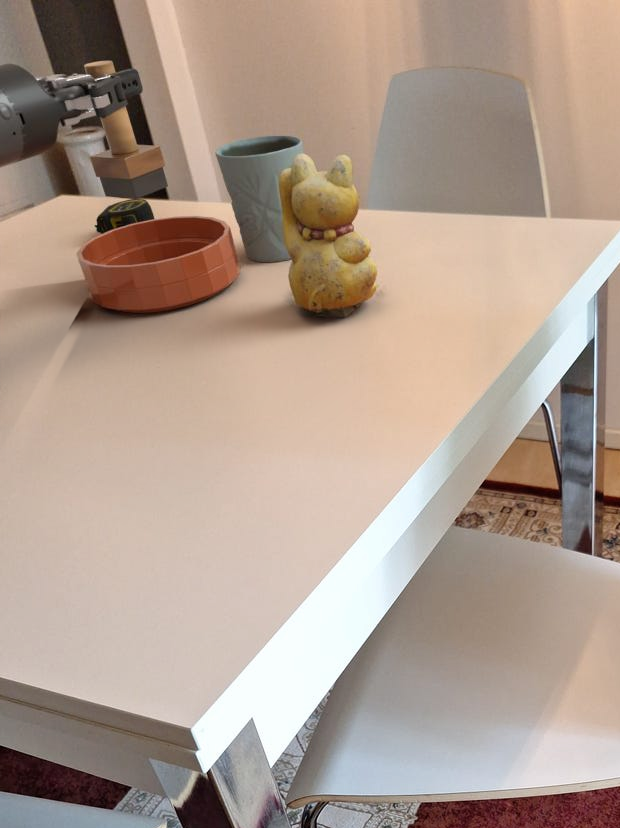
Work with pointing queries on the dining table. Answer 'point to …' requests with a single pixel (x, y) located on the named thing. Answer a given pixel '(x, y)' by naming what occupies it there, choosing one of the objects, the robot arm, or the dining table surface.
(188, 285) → the bowl
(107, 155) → the wooden rod on block
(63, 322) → the dining table surface
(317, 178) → the decorative figurine
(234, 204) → the grey-blue cup
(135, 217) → the tape measure
